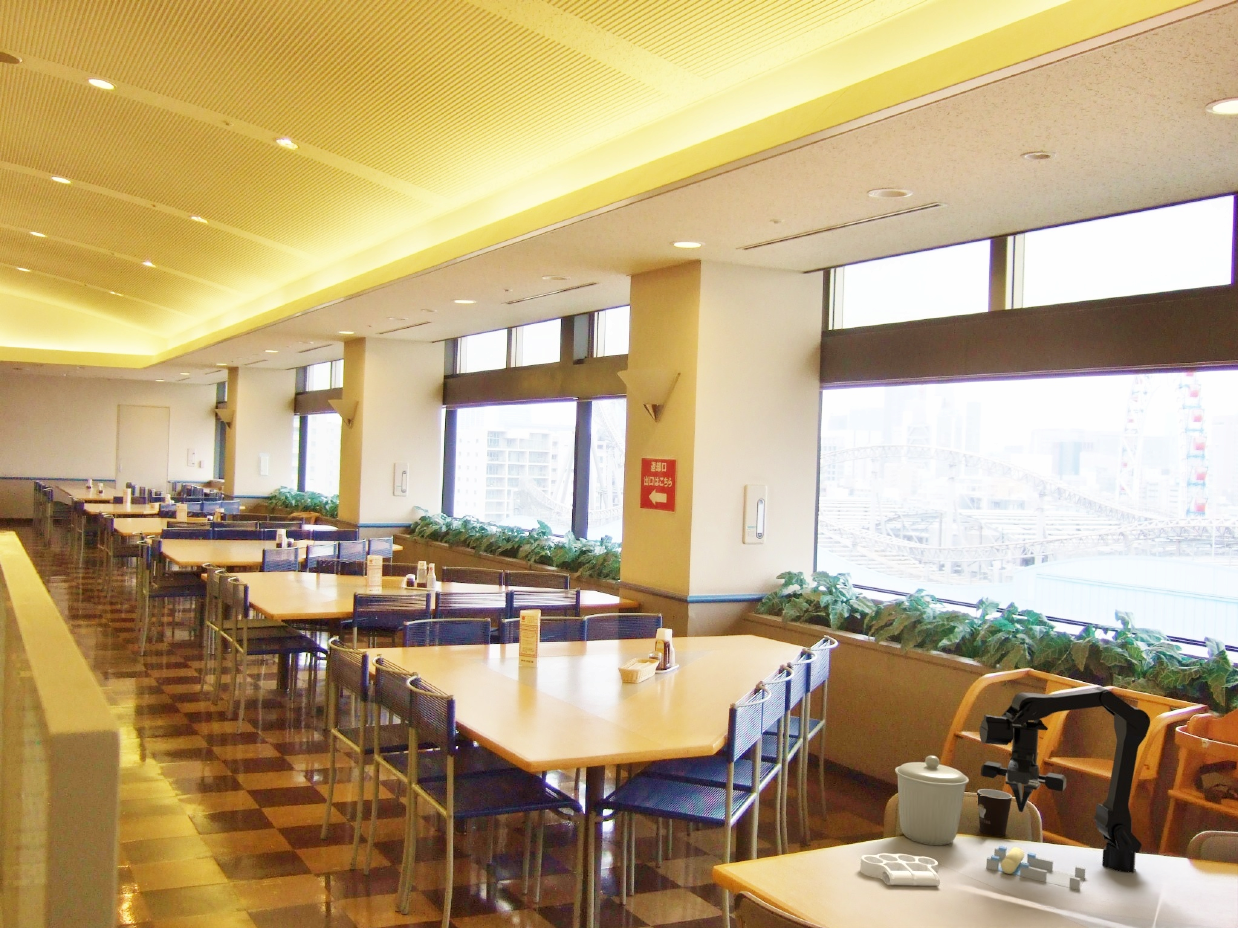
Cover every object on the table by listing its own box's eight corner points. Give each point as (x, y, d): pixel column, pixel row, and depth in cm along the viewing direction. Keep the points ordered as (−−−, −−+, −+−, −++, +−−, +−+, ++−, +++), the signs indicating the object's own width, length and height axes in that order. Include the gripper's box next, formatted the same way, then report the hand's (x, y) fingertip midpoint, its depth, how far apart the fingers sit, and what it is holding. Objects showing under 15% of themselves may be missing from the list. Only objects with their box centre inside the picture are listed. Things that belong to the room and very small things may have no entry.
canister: (980, 846, 262) (985, 762, 262) (931, 854, 252) (936, 767, 253) (924, 824, 277) (929, 744, 278) (876, 831, 267) (881, 749, 268)
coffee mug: (1012, 838, 269) (1014, 800, 270) (977, 834, 271) (980, 795, 272) (1005, 825, 281) (1007, 788, 281) (971, 821, 283) (973, 784, 283)
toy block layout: (1084, 881, 240) (1085, 864, 241) (1078, 894, 232) (1079, 877, 232) (995, 860, 251) (996, 844, 251) (985, 872, 242) (986, 855, 242)
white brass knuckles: (875, 888, 228) (852, 864, 242) (953, 890, 230) (925, 866, 244) (876, 873, 228) (853, 850, 242) (954, 874, 230) (926, 851, 245)
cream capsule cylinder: (1010, 859, 249) (1009, 846, 250) (1024, 861, 248) (1023, 847, 248) (999, 873, 239) (999, 859, 239) (1014, 876, 237) (1013, 861, 237)
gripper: (977, 744, 249) (973, 810, 248) (1061, 759, 239) (1057, 828, 239) (987, 737, 258) (983, 800, 258) (1068, 751, 249) (1064, 817, 248)
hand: (1021, 811), depth 250 cm, fingers closed
